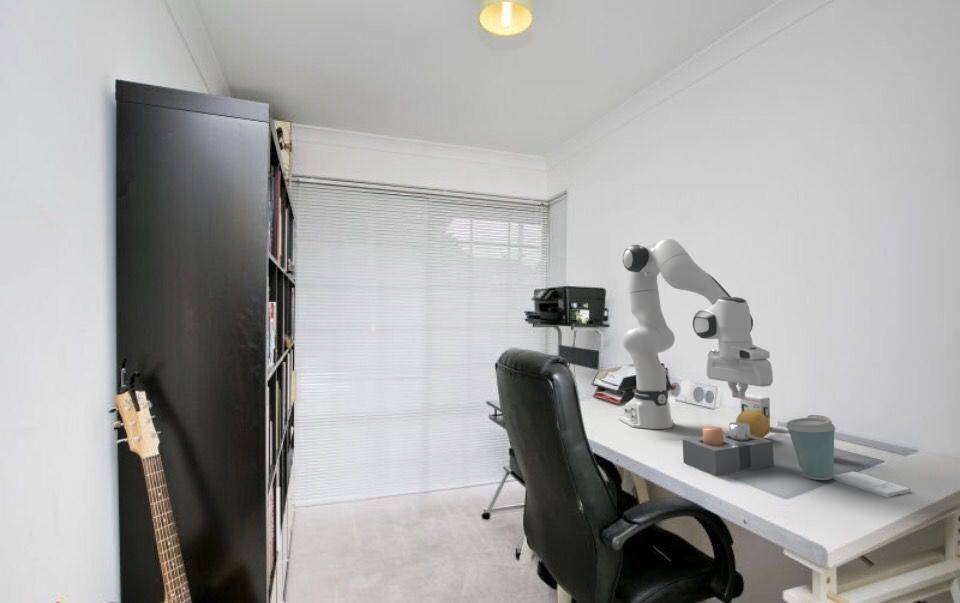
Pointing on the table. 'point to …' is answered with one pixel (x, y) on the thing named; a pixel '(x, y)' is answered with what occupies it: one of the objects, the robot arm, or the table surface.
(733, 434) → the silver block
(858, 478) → the external hard drive
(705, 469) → the block
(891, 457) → the table surface
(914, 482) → the table surface
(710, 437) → the terracotta button
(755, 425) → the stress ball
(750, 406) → the ink box
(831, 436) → the disposable coffee cup
